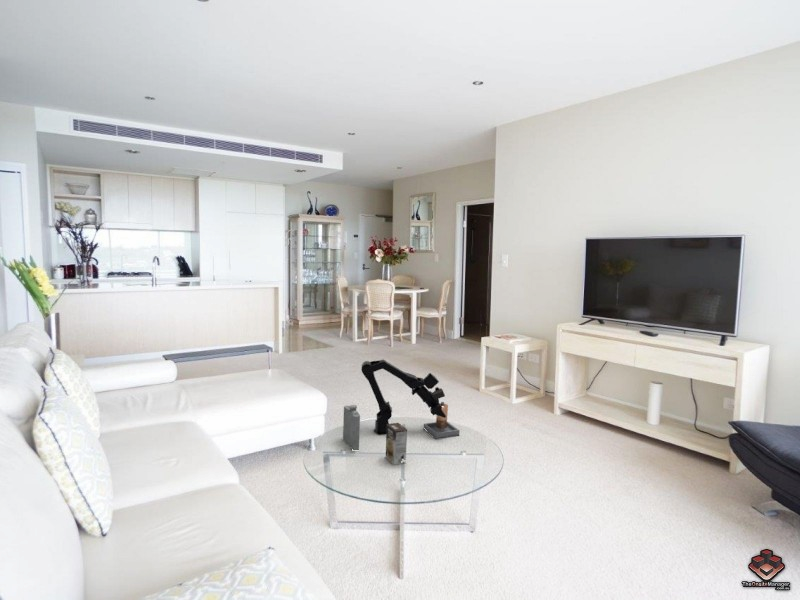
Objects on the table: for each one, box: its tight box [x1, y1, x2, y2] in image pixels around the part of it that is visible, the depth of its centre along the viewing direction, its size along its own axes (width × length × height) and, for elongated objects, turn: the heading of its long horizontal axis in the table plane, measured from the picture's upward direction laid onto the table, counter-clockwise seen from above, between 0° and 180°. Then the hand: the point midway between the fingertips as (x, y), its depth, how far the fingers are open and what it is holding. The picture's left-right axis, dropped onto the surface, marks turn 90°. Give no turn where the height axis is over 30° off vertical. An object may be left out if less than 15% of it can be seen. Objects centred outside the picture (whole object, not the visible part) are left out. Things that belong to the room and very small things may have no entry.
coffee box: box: [385, 422, 408, 466], centre depth 215 cm, size 9×6×16 cm
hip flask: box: [342, 404, 361, 451], centre depth 229 cm, size 16×4×20 cm, turn 27°
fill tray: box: [423, 421, 460, 440], centre depth 249 cm, size 14×14×3 cm
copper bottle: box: [435, 401, 449, 429], centre depth 248 cm, size 6×6×14 cm
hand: (444, 415), depth 249 cm, fingers closed on copper bottle, 6 cm apart
